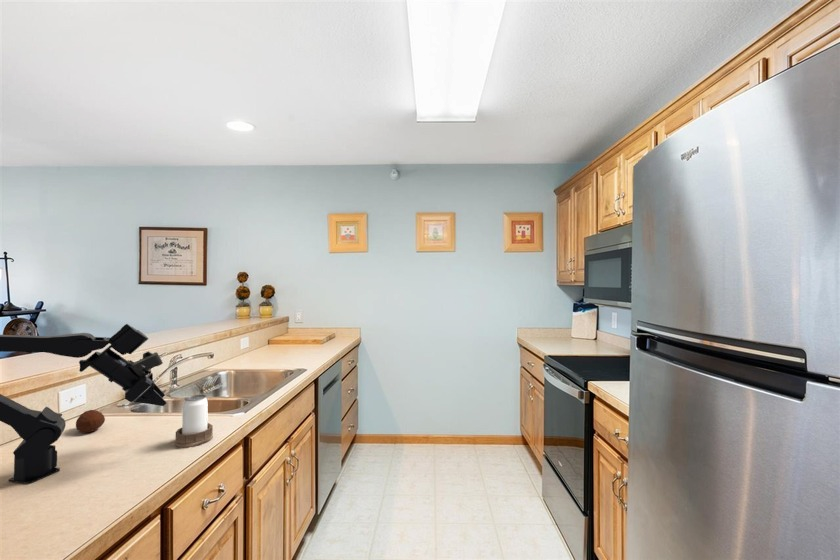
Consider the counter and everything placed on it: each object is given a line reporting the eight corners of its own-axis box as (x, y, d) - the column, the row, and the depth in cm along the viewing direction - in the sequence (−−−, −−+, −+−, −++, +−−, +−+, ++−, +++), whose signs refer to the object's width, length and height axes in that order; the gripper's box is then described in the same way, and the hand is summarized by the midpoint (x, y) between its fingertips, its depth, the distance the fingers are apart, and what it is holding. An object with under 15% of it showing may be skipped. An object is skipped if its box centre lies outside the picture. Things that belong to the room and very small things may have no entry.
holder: (195, 448, 102) (195, 436, 102) (166, 446, 104) (167, 434, 104) (219, 435, 112) (220, 424, 112) (193, 432, 114) (193, 421, 114)
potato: (105, 423, 121) (105, 404, 121) (104, 432, 114) (105, 412, 114) (76, 429, 116) (77, 409, 117) (74, 438, 109) (74, 417, 110)
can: (209, 437, 108) (210, 397, 108) (184, 443, 103) (185, 402, 104) (204, 431, 112) (205, 392, 113) (180, 436, 108) (180, 397, 108)
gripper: (142, 349, 93) (191, 384, 100) (142, 340, 108) (184, 371, 114) (101, 384, 88) (156, 419, 95) (107, 370, 103) (154, 401, 109)
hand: (164, 400), depth 104 cm, fingers open, 9 cm apart
